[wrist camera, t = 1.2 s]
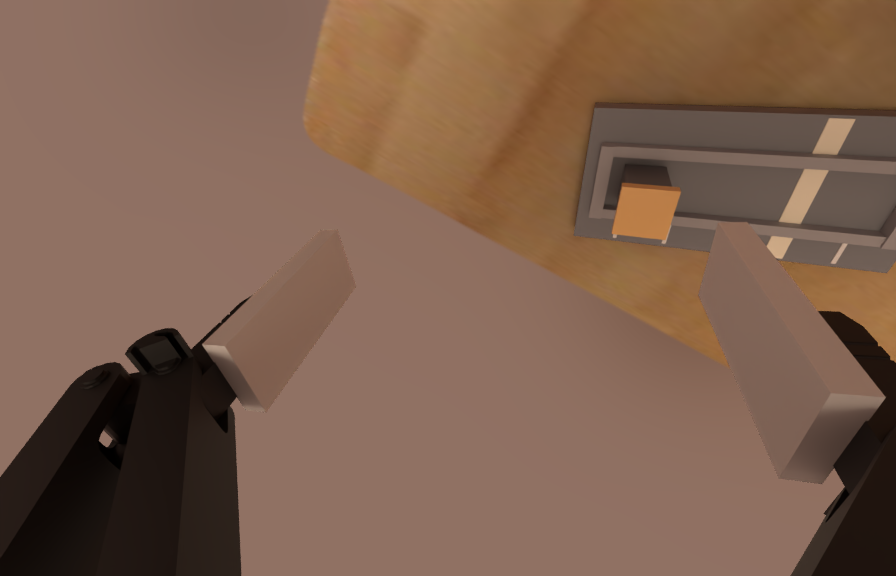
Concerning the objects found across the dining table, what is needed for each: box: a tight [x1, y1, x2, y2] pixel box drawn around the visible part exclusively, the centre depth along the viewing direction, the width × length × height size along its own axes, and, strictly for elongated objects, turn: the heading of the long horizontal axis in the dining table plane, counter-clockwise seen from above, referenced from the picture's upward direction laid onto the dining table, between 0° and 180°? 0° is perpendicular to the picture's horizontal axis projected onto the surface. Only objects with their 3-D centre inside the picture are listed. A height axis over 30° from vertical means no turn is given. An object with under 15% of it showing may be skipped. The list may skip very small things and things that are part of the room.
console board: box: [574, 103, 896, 273], centre depth 31 cm, size 23×11×3 cm, turn 92°
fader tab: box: [612, 164, 681, 240], centre depth 30 cm, size 4×4×6 cm
